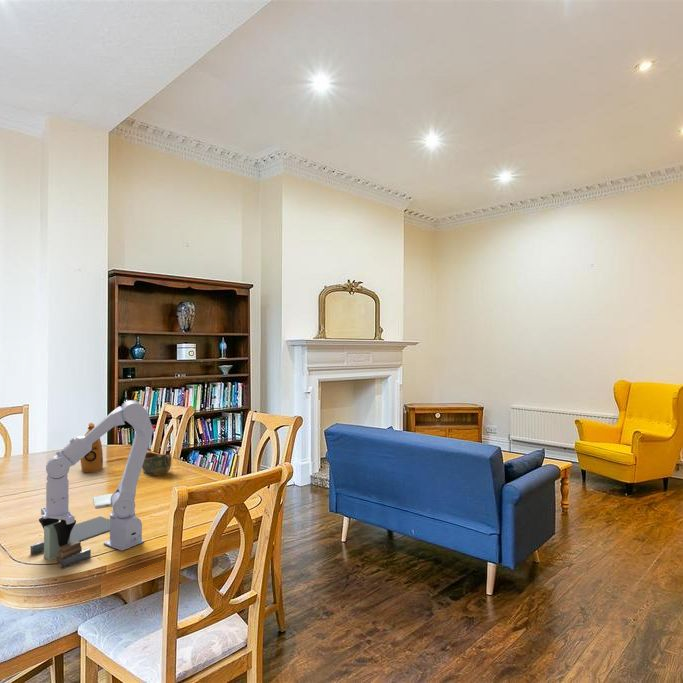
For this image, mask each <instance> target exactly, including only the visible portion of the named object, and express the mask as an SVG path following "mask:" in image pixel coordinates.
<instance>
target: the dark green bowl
mask: <svg viewBox="0 0 683 683" xmlns="http://www.w3.org/2000/svg"><path fill="white" fill-rule="evenodd" d="M171 466H172V455H171V453H170V452H169V453H166V454H161V453H157V452H156V453H155V452H148V451H147V453H146V456H145V459H144V463H143V466H142V470H143V473H144V474H146V475H148V476H151V477H162V476H166V475H168V473H169V471H170V469H171V468H172V467H171Z"/></svg>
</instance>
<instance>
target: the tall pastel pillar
mask: <svg viewBox="0 0 683 683" xmlns="http://www.w3.org/2000/svg"><path fill="white" fill-rule="evenodd" d="M59 522H61V520H59ZM59 522H57V523H59ZM54 524H56V523H54ZM43 541H44V551H43V558H44V559H47V560H49V561H51V560H54V559H55V558H57V557H59V551H60V547H59V544H58V536H57V532H56V529H55V527H54V526H53V524H51V525H47V526H44V529H43ZM68 543H70V537H69V540H68Z"/></svg>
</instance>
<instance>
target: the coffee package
mask: <svg viewBox="0 0 683 683" xmlns="http://www.w3.org/2000/svg"><path fill="white" fill-rule="evenodd" d="M94 427H95V423H93V422H90V423H88V427H87V431H86V433H85V434H84V436H86V435H87V434H88V433H89V432H90V431H91V430H92V429H93V428H94ZM102 446H103V445H102V441H101V437H100V438H99V439H98V440H96V441H95V442H94V443H93V444H92V450H91V451H90V452H89V453H87V454H86V455H85V456H84V457H83V458H82V459H81V460H80V466H81V472H82V473H85V474H86V473H96V472H97V473H98V472H101V470H102V469H103V466H104V456H103V455H104V453H103V447H102Z"/></svg>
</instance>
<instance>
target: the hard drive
mask: <svg viewBox="0 0 683 683" xmlns="http://www.w3.org/2000/svg"><path fill="white" fill-rule="evenodd" d="M112 495H113V493H108V494H101V495H95V496H92V500H93V505H94V508H95V509H100V508H101V509H102V508H107V507H112V505H111V501H110V500H111V496H112Z"/></svg>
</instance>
